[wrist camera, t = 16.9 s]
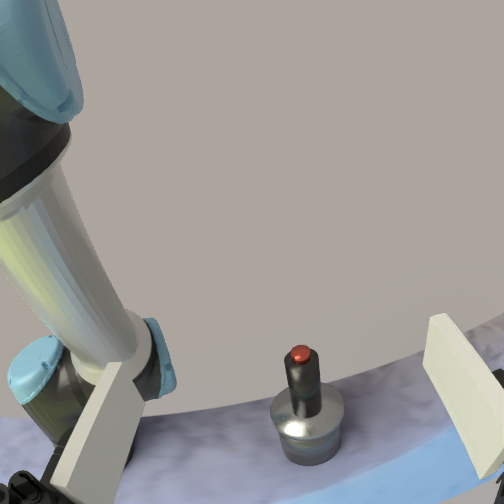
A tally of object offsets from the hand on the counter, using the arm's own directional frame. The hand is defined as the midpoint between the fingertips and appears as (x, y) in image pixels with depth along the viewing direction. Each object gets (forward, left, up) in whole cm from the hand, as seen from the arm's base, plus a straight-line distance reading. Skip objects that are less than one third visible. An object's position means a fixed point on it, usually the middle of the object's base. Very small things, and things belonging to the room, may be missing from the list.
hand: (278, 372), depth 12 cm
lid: (-8, +17, -27) cm, 33 cm away
